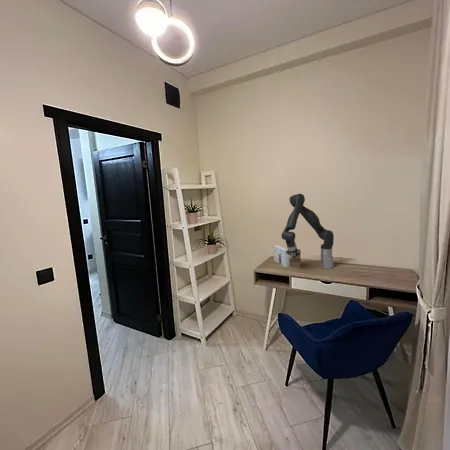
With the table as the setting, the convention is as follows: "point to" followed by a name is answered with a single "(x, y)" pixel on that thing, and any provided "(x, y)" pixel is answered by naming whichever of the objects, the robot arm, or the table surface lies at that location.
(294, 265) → the walnut block
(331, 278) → the table surface
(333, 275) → the table surface
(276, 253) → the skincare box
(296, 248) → the robot arm
